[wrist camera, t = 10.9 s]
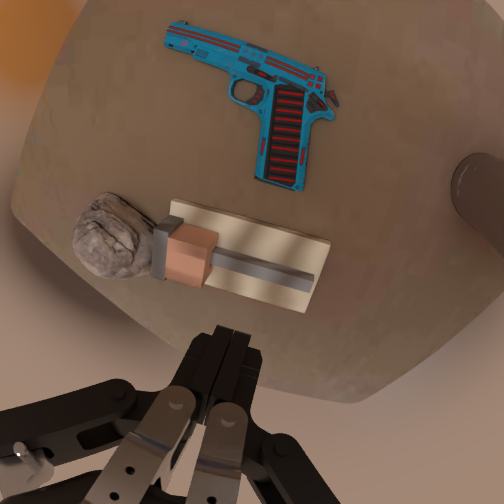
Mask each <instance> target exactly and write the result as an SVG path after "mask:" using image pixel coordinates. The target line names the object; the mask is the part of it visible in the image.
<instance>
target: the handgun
mask: <svg viewBox="0 0 504 504" xmlns="http://www.w3.org/2000/svg"><path fill="white" fill-rule="evenodd" d="M186 23H187V22H186V21H178V22H173V23H172V24H170V25H169V27H168V29H167V31H166V34H167V36H166V38H165V41H164V46H165V47H168V48H172V49H175V50H179V51H182V52H185V53H189V54H192V55H193V58H194V59H197V60H199V61H202V62H205V63H208V64H211V65H214V66H216V67H219V68H222V69H224V70H226V71H228V73H229V74H230V76H231V80H230V83H229V87H228V96H229V98H230V99H231V100H232V101H234V102H236V103H238V104H240V105H242V106H244V107H246V108H249V109H251V110H253V111H255V112H257V113H258V115H259V117H260V119H261V121H262V124H261V131H260V139H259V147H258V155H257V163H256V171H255V177H254V179H256V180H259V181H261V182H264V183H268V184H272V185H275V186H278V187H282V188H285V189H289V190H292V191H295V190H297V191H303V189H304V181H305V173H306V164H307V155H308V145H309V136H310V126H311V124H312V123H313V122H314V120H315V119H319V118H325V119H328V120H333V119H335V115H334V112H333V111H332V110H331V109H330V108H329V107H328V106H327V104H326V102H325V98H324V95H326V96H330V97H331V99H332V100H333V102H334V103H335V105H336V106H337V107H338V106H339V104H338V101H337V98H336V96H335V93H334V91H333V90H330V91H325V80H326V75H325V74H323V73H321V72H319V71H318V67H317V66H316V67H315V68H313V69H312V68H310V67H308V66H305V65H303V64H301V63H299V62H296V61H294V60H292V59H289V58H287V57H284V56H282V55H279V54H277V53H274V52H272V51H269V50H266V49H264V48H261V47H258V46H255V45H253V44H250V43H247V42H244V41H241V40H238V39H235V38H232V37H229V36H225V35H222V34H219V33H215V32H212V31H208V30H205V29H201V28H197V27H193V26H189V25H186ZM241 79H245V80H248V81H251V82H254V83H256V93H255V94H254V96H253V97H252V98H251V99H249V100H247V101H246V102H247V103H248V104H247V103H245V102H243V101H240V100H238V99H236V98H235V97H234V96H233V88H234V85H235V83H236V81H239V80H241Z"/></svg>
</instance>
